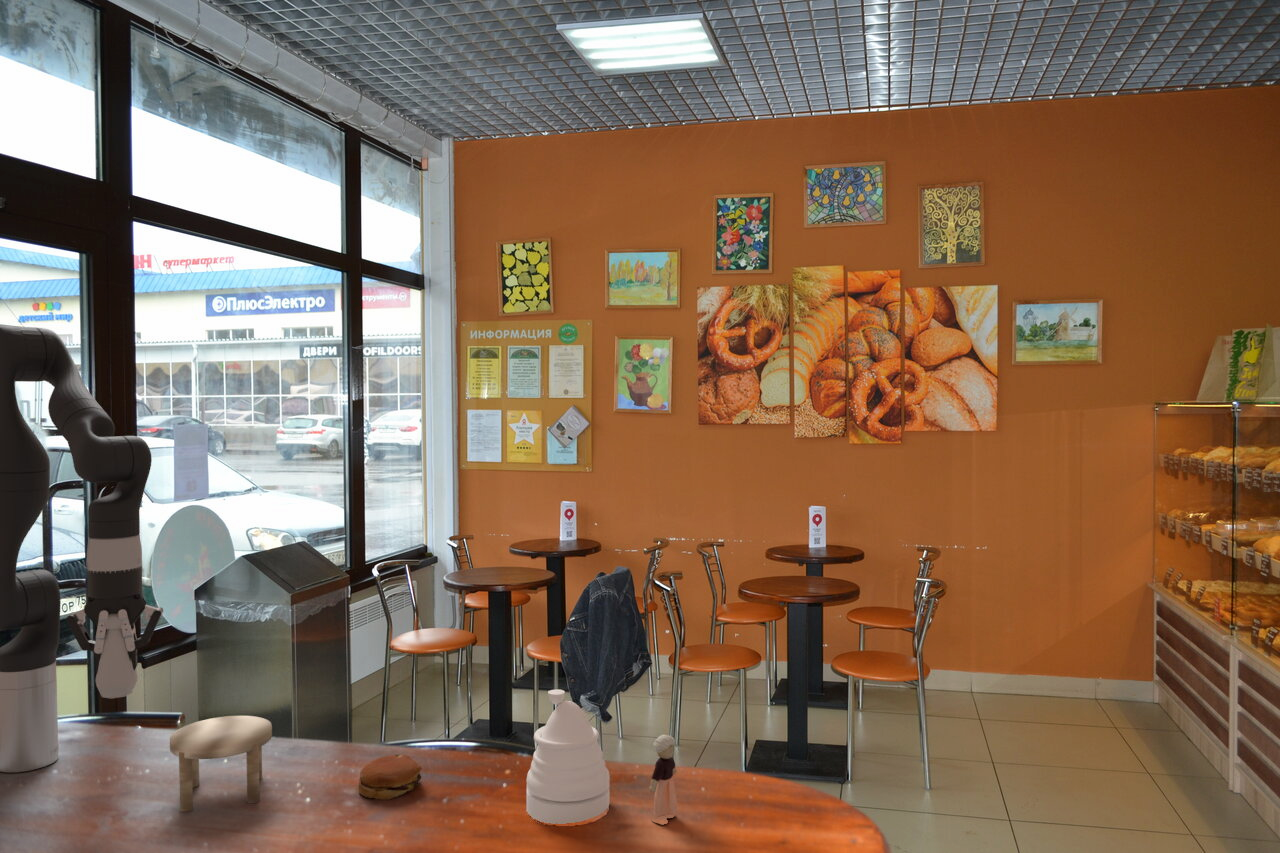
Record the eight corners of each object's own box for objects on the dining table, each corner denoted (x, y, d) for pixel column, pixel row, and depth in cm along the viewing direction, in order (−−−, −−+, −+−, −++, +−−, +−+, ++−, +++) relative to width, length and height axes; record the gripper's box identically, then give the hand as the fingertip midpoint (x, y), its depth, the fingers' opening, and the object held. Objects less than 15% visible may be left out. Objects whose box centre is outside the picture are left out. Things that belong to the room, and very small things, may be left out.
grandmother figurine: (670, 830, 142) (670, 745, 142) (645, 826, 143) (645, 742, 143) (683, 808, 150) (683, 727, 149) (659, 805, 151) (659, 725, 150)
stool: (164, 819, 146) (163, 754, 145) (177, 781, 160) (176, 721, 160) (271, 805, 151) (270, 742, 150) (274, 769, 165) (273, 711, 164)
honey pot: (511, 819, 146) (511, 701, 145) (548, 786, 158) (548, 677, 157) (590, 832, 142) (590, 711, 141) (622, 797, 154) (621, 685, 153)
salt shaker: (145, 689, 154) (144, 608, 153) (122, 701, 148) (121, 616, 147) (111, 687, 154) (109, 607, 154) (87, 699, 149) (85, 615, 148)
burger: (354, 803, 152) (354, 773, 152) (363, 779, 161) (363, 751, 161) (419, 799, 153) (419, 770, 153) (424, 776, 162) (424, 749, 162)
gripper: (168, 558, 156) (169, 664, 157) (69, 562, 152) (70, 671, 152) (161, 566, 149) (162, 677, 150) (57, 571, 144) (59, 685, 145)
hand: (116, 673), depth 151 cm, fingers closed on salt shaker, 3 cm apart
